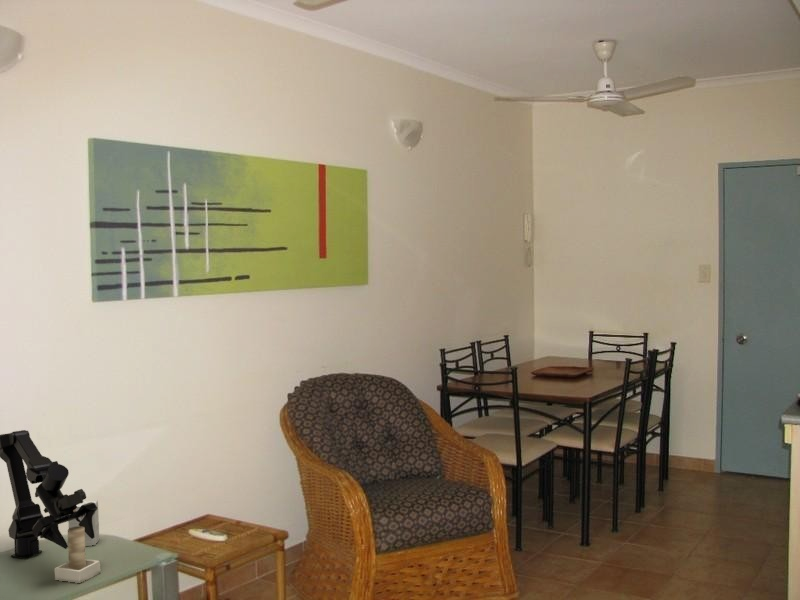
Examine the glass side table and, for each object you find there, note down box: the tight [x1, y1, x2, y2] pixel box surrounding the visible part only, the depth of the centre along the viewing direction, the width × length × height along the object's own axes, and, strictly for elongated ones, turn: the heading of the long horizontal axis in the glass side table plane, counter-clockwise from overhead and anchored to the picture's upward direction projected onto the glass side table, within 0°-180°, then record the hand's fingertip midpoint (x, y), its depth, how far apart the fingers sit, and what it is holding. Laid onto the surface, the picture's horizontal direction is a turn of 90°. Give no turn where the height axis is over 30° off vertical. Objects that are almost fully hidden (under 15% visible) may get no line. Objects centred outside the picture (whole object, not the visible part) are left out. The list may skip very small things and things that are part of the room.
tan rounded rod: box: [67, 526, 87, 570], centre depth 233 cm, size 4×4×13 cm
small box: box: [67, 500, 100, 547], centre depth 261 cm, size 8×6×13 cm
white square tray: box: [54, 558, 101, 584], centre depth 233 cm, size 9×9×4 cm
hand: (80, 542), depth 232 cm, fingers open, 9 cm apart
